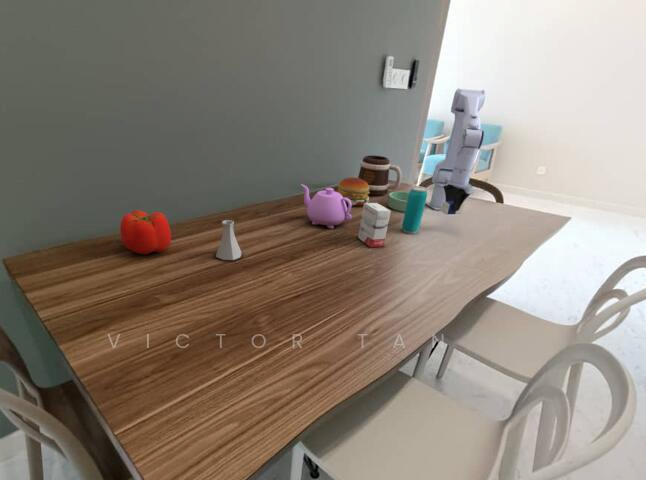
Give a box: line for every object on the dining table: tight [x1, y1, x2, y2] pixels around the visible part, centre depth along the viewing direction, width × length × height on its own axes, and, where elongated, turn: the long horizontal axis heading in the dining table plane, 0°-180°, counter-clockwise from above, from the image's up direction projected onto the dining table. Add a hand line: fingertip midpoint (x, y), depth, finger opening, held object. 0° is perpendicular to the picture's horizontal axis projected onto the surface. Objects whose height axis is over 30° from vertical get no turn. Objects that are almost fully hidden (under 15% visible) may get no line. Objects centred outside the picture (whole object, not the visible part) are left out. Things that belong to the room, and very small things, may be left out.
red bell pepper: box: [119, 210, 172, 256], centre depth 109 cm, size 14×13×10 cm
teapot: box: [300, 183, 353, 229], centre depth 137 cm, size 20×14×12 cm
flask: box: [215, 219, 242, 261], centre depth 109 cm, size 7×7×10 cm
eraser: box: [440, 201, 465, 215], centre depth 137 cm, size 6×4×4 cm, turn 103°
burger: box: [337, 177, 370, 206], centre depth 160 cm, size 13×14×10 cm
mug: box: [357, 155, 403, 197], centre depth 174 cm, size 20×15×15 cm
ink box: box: [358, 202, 392, 248], centre depth 123 cm, size 8×5×12 cm, turn 20°
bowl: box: [387, 191, 410, 213], centre depth 160 cm, size 14×14×4 cm
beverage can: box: [401, 185, 428, 235], centre depth 133 cm, size 6×6×15 cm
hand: (451, 208), depth 137 cm, fingers closed on eraser, 3 cm apart
